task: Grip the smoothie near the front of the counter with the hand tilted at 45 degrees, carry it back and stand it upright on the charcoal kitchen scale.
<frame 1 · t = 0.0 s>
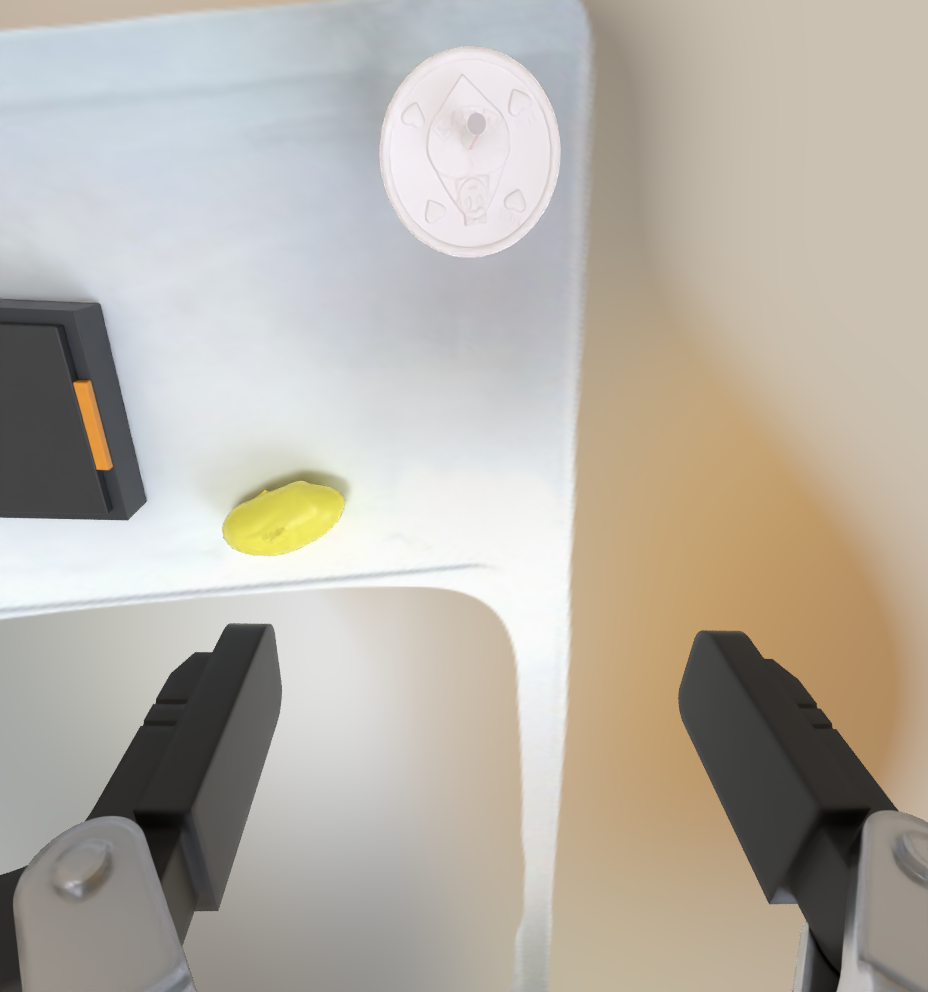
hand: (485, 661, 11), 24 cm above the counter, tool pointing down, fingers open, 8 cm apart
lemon: (292, 503, 36), on the counter
smoothie: (460, 174, 28), on the counter
scale: (18, 407, 32), on the counter
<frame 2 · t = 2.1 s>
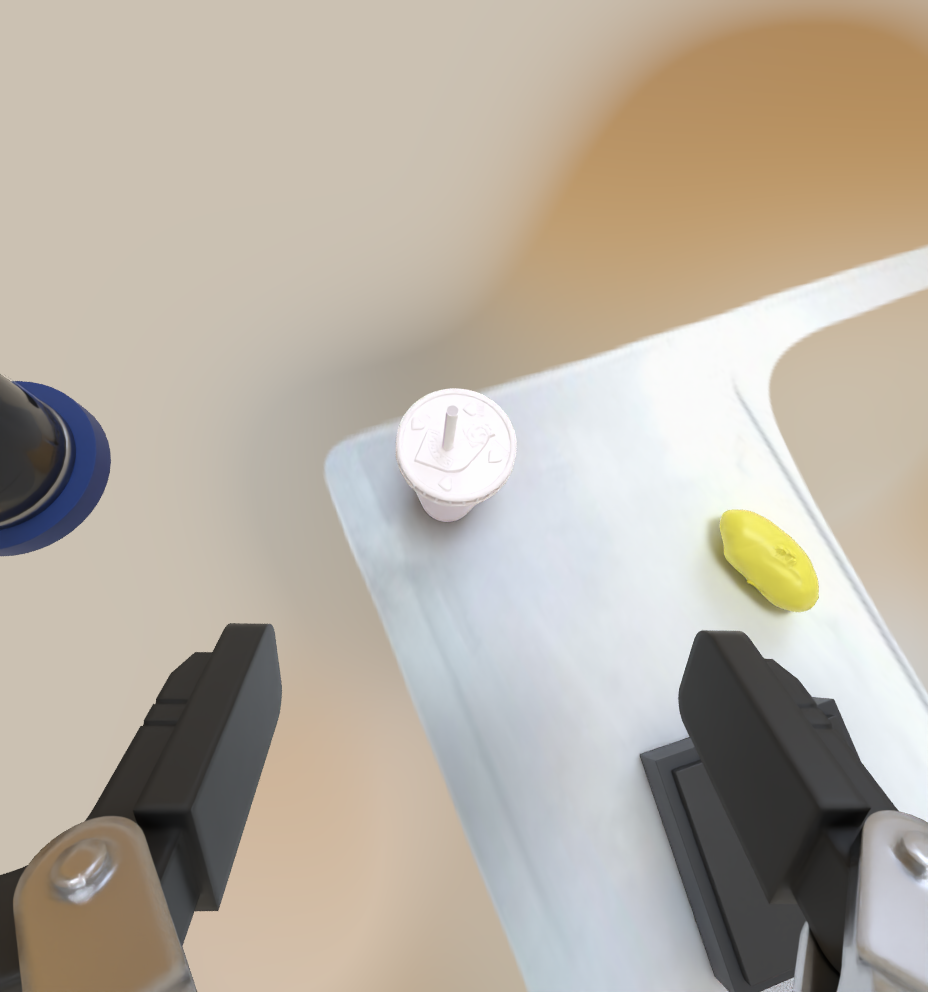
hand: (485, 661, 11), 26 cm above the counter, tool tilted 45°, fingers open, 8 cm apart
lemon: (750, 563, 39), on the counter
smoothie: (447, 496, 38), on the counter
scale: (764, 826, 34), on the counter
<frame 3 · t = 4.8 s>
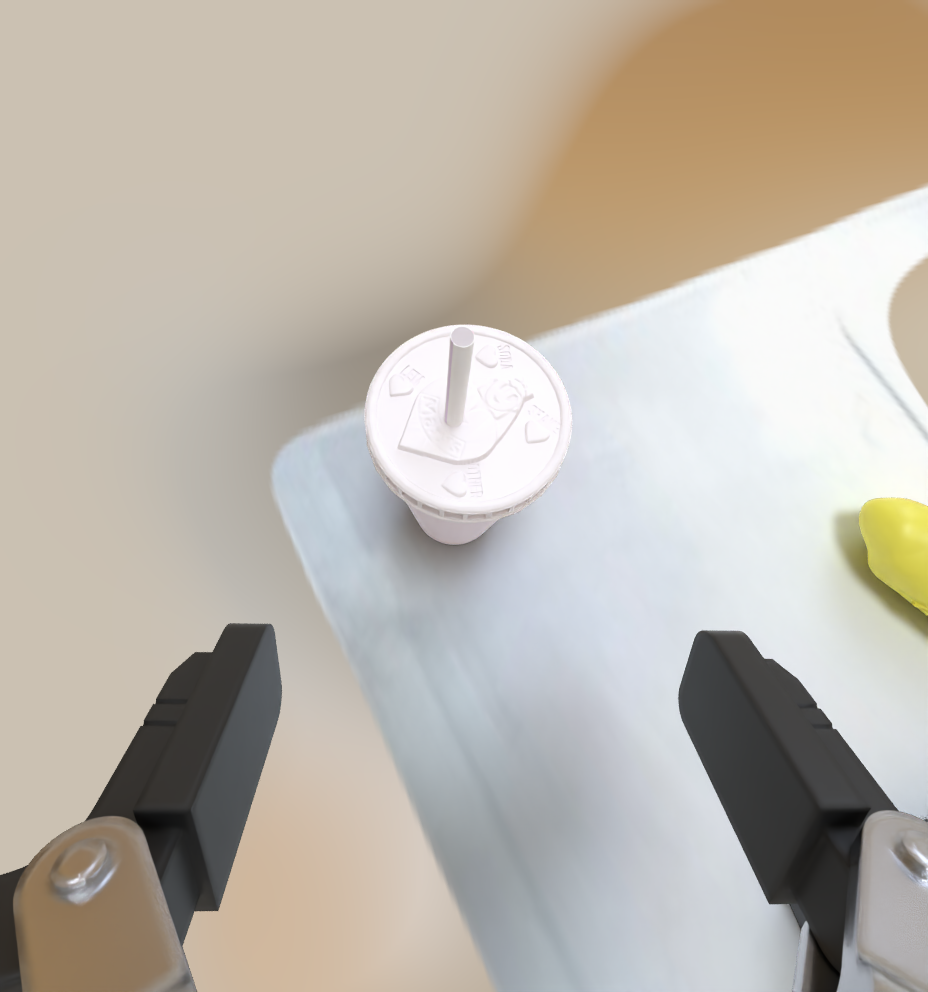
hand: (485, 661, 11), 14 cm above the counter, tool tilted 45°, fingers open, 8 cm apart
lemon: (902, 575, 27), on the counter
smoothie: (454, 507, 26), on the counter
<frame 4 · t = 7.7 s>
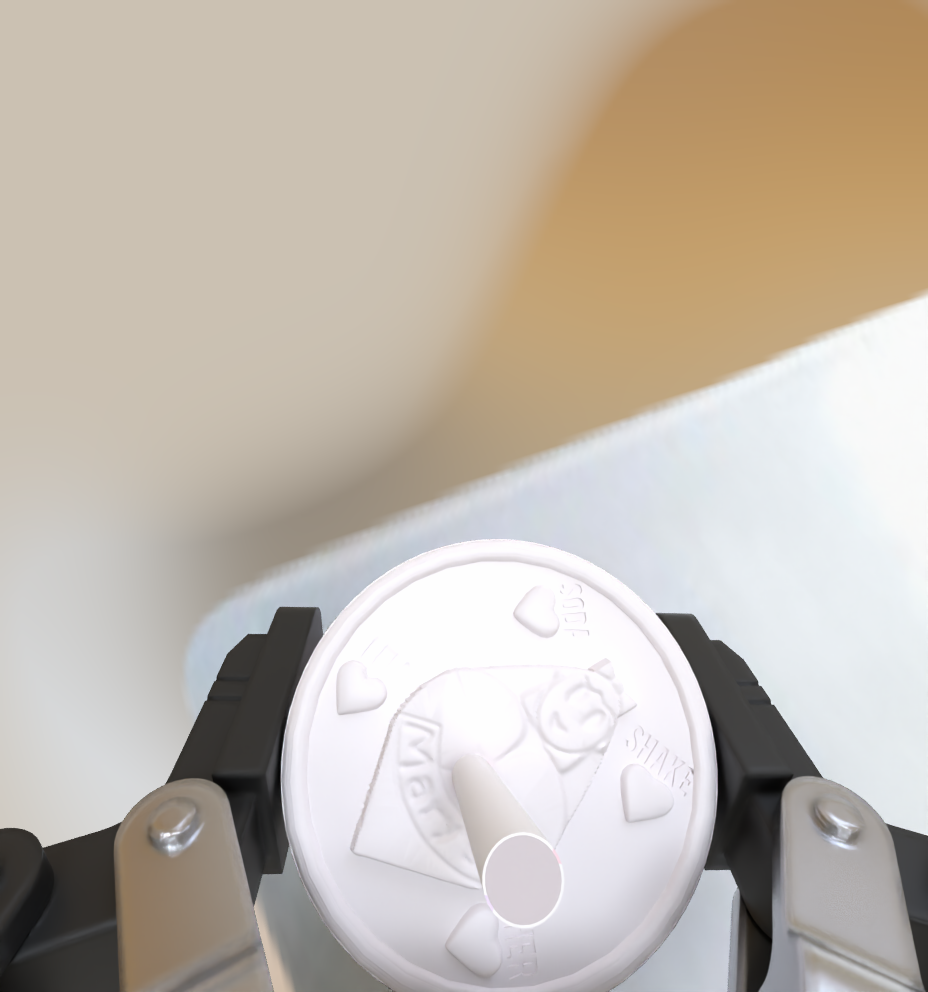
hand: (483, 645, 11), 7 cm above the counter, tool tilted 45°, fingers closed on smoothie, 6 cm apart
smoothie: (461, 712, 17), on the counter, touching gripper
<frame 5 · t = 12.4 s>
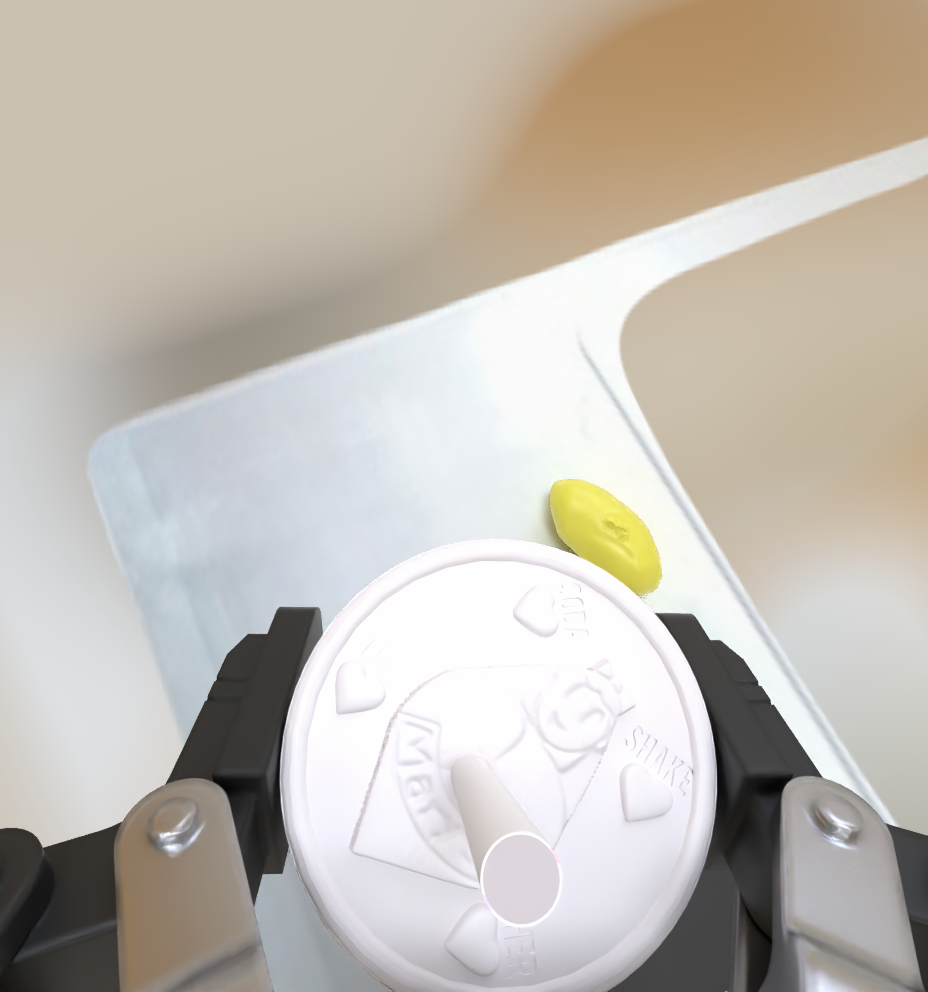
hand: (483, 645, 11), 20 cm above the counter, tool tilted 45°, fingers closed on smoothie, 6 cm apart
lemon: (594, 542, 33), on the counter
smoothie: (460, 711, 17), point 13 cm above the counter, touching gripper
scale: (604, 853, 28), on the counter
when the fingers open (10 cm above the counter, at t = 17.3 s): smoothie stays where it is, resting on scale.
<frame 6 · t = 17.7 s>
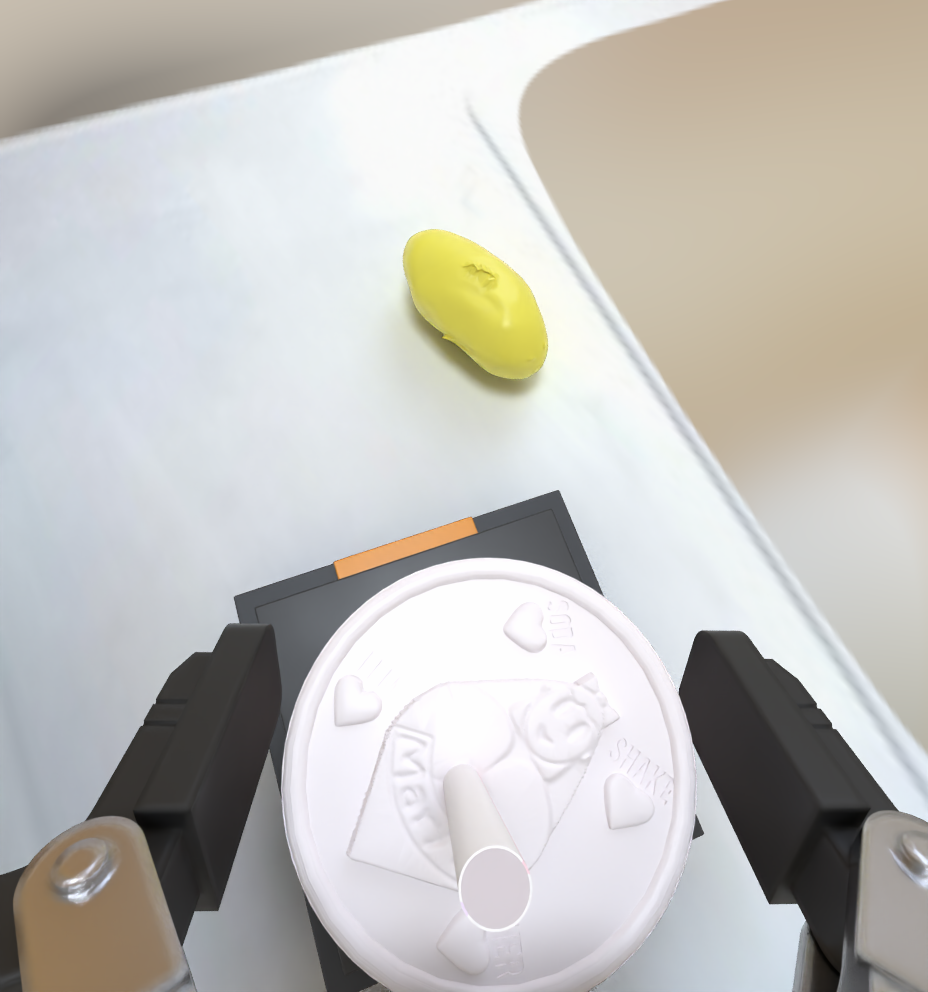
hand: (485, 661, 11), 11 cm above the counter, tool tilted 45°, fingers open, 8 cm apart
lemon: (471, 329, 26), on the counter
smoothie: (459, 717, 18), point 3 cm above the counter, touching scale
scale: (456, 707, 21), on the counter
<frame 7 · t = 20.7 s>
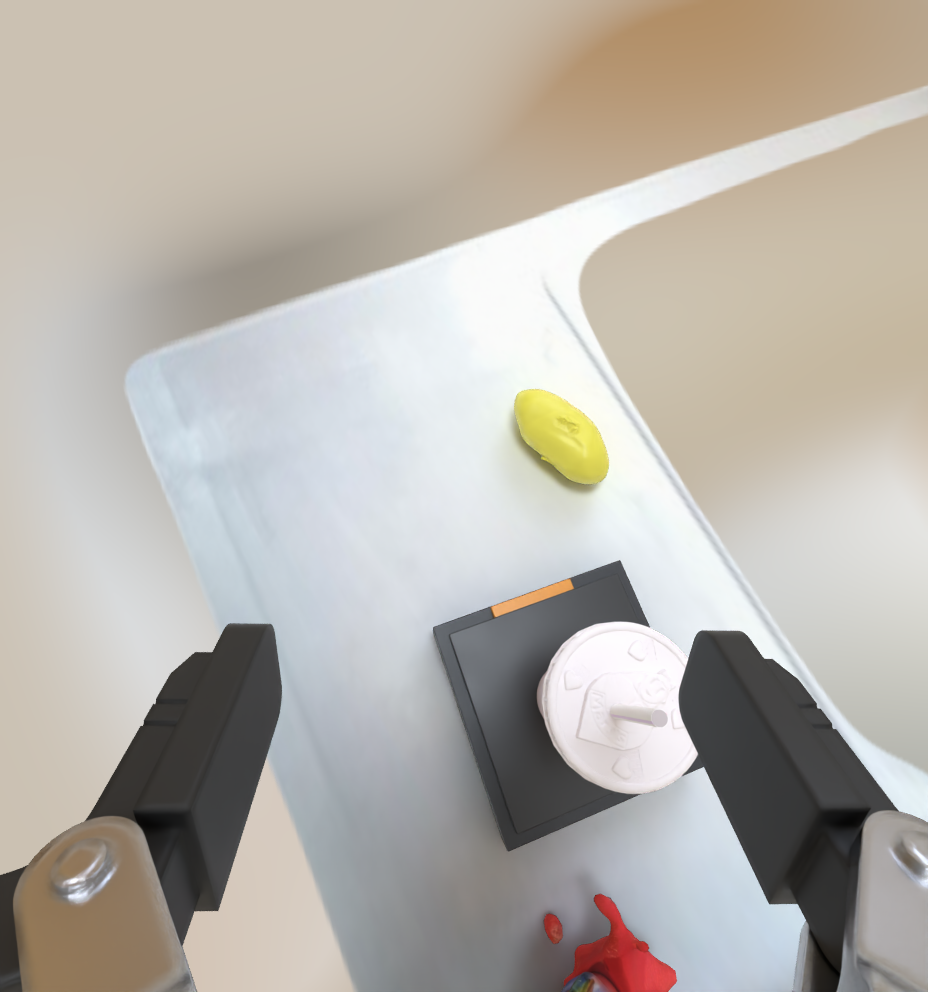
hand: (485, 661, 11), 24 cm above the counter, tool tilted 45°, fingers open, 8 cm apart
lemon: (554, 446, 39), on the counter
smoothie: (569, 697, 31), point 3 cm above the counter, touching scale
scale: (559, 693, 34), on the counter
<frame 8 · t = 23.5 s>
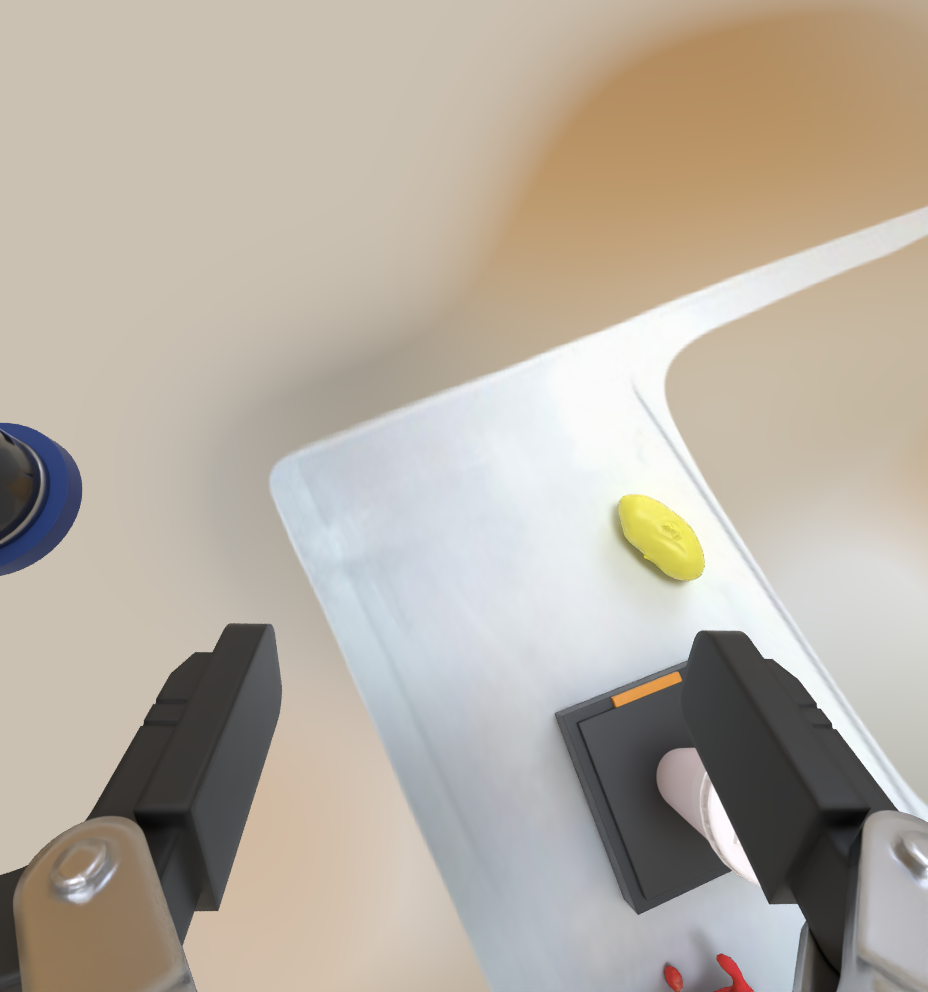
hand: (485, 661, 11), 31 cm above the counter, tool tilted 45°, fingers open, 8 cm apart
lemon: (650, 541, 44), on the counter
smoothie: (683, 778, 36), point 3 cm above the counter, touching scale
scale: (666, 769, 39), on the counter
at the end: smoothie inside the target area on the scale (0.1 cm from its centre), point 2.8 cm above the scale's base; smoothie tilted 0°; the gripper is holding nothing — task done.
